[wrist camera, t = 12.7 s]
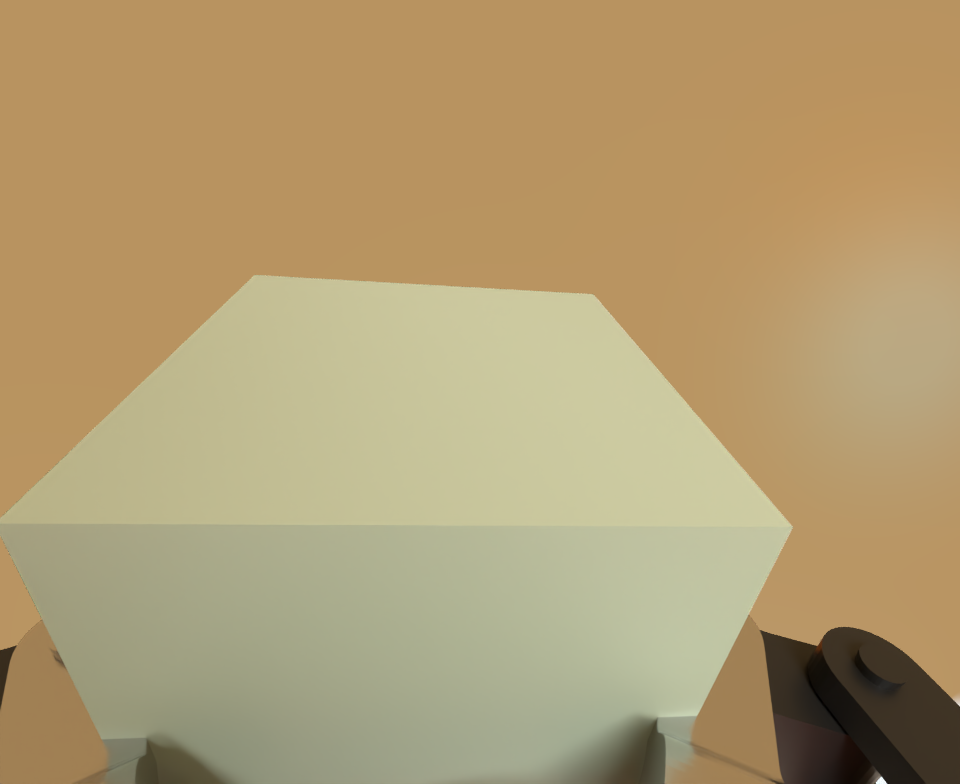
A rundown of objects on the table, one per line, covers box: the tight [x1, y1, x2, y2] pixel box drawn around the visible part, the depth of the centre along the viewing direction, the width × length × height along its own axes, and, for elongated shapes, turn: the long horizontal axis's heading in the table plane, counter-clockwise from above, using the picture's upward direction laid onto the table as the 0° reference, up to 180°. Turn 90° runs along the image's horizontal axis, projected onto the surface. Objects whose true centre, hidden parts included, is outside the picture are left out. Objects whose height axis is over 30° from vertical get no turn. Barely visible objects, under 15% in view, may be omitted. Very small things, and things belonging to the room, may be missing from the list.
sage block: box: [0, 275, 793, 784], centre depth 9 cm, size 6×6×10 cm
